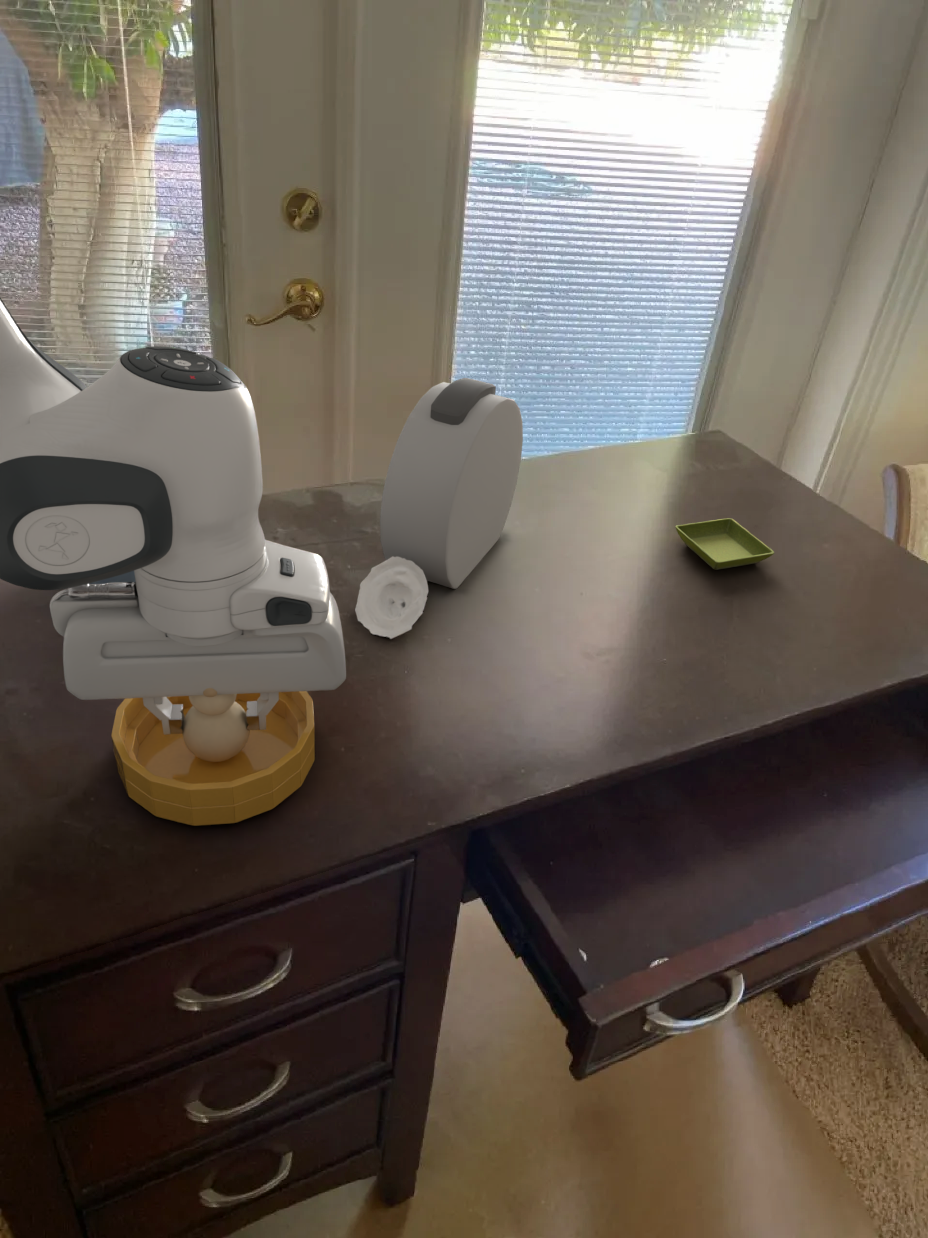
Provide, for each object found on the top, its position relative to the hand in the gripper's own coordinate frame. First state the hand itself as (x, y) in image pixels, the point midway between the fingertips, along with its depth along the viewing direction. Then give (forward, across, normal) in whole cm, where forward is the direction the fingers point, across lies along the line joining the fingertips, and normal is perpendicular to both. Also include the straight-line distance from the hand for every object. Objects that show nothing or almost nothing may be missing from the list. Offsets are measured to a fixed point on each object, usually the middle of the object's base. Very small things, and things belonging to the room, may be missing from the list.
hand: (216, 727), depth 70 cm
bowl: (+3, 0, 0) cm, 3 cm away
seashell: (+4, +16, +18) cm, 24 cm away
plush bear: (+3, 0, 0) cm, 3 cm away
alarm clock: (+4, +24, +31) cm, 39 cm away
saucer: (+4, +57, +30) cm, 65 cm away
